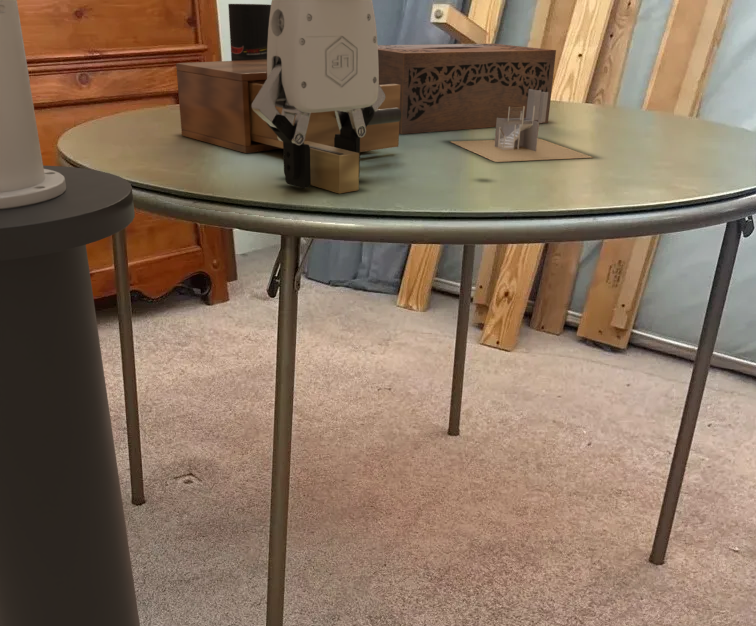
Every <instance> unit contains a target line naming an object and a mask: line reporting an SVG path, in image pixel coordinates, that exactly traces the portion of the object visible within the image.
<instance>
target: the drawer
mask: <svg viewBox="0 0 756 626" xmlns="http://www.w3.org/2000/svg"><path fill="white" fill-rule="evenodd" d="M265 81H266V80H255V81H248V96H249V117H250V139H251V141H255V142H259V143H263V144H267V145H271V146H275V147H279V148H283V142H282V141H279V140H278V138H277V135H276V134H275V132H274V131H273V130H272V129H271V128H270V127H269V126H268V125H267V122H266V121H264V120H263V119H262V118H261V117H260V116H259V115H257V114H256V113H255V112H254V111H253V109H252V102H253V101H254V99H255V98H256V96H257V94H258V93H259V91H260V89H261V88H262V86H263V85H264V83H265ZM380 87H381V88H382V90H383V92H384V93H385V100H384V102H383V103H382V104H381V106H380V107H379V108H378V109H377V111H376V112H374V116H373V118H372V119H371V121H370V122H369V124H368V125H367V127H366V134H365V136H364V137H362V138H360V153H363V152H370V151H379V150H386V149H392V148H398V147H399V145H400V143H399V141H400V133H399V121H400V120H401V117H402V113H401V110H400V85H398V84H384V85H380ZM275 107H276V109H277V110H278V112H279V113H280V114H281V113H282V109H283V108H281V107H277V106H275ZM348 114H349V113H348ZM295 117H296V115H295ZM294 122H295V118H294ZM293 126H294V123H293ZM335 134H340V131H339V127H338V123H337V119H336V115H335V111H328V112H317V113H311V115H310V119H309V123H308V127H307V132H306V136H305V140H304V141H310V142H314V143H319V144H323V145H327V146H331V147H334V138H335Z"/></svg>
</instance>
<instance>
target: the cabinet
mask: <svg viewBox="0 0 756 626" xmlns="http://www.w3.org/2000/svg"><path fill="white" fill-rule="evenodd" d="M175 68H176V80H177V91H178V93H177V94H178V103H179V104H178V105H179V117H180V129H181V137H186V138H190V139H192V140H196V141H200V142H203V143H207V144H212V145H215V146H219V147H222V148H225V149H229V150H232V151H236V152H240V153H243V154H251V153H259V152H264V151H265V152H267V151H275V150H283V148H279V147H275V146H271V145H267V144H263V143H259V142H255V141H251V139H250V117H249V96H248V81H255V80H267V59H264V60H241V61H231V60H223V61H222V60H219V61H202V62H201V61H197V62H176V63H175Z"/></svg>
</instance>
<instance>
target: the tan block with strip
mask: <svg viewBox="0 0 756 626" xmlns="http://www.w3.org/2000/svg"><path fill="white" fill-rule="evenodd" d="M304 144H308V145H309V147H310V176H311V184H310V186H312V187H316V188H319V189H322V190H325V191H329V192H333V193H336V194H345V193H351V192H356V191H359V189H360V188H359V187H360V185H359V184H360V182H359V181H360V176H359V153H357V152H352V151H348V150H344V149H340V148H336V147H331V146H327V145H323V144H319V143H314V142H310V141H304Z"/></svg>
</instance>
